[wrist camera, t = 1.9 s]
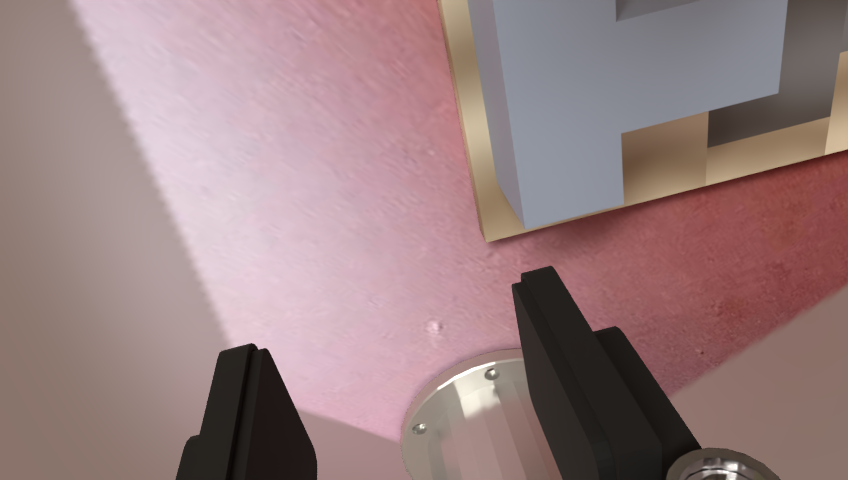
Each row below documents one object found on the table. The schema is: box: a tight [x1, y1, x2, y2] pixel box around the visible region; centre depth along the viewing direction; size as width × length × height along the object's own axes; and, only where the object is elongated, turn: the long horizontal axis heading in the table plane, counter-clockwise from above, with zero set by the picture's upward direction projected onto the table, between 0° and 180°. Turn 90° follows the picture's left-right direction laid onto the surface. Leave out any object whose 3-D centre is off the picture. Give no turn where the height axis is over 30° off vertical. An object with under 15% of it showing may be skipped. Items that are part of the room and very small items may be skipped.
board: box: [437, 0, 848, 243], centre depth 25 cm, size 16×23×1 cm
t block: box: [467, 0, 788, 230], centre depth 23 cm, size 10×10×4 cm
